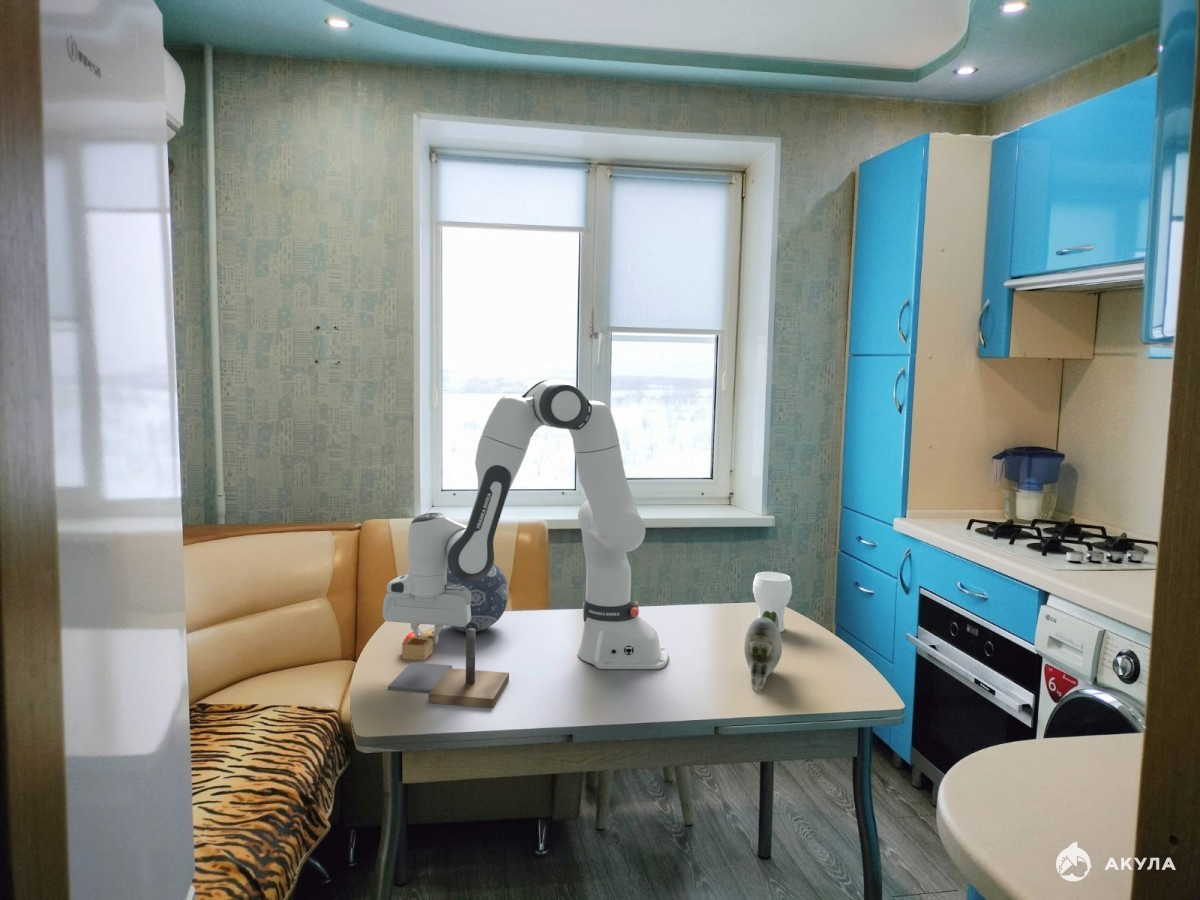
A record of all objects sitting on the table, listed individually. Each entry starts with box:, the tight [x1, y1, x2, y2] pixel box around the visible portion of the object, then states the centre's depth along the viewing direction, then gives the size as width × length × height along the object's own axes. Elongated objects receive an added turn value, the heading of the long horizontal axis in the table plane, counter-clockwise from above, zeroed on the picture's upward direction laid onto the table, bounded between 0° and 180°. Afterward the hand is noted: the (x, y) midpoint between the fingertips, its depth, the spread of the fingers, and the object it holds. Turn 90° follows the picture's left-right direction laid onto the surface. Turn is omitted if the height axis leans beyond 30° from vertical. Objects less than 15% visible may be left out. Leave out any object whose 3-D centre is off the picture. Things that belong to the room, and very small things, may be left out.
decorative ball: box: [447, 563, 510, 633], centre depth 206 cm, size 20×20×20 cm
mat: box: [387, 661, 453, 693], centre depth 175 cm, size 10×14×1 cm
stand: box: [428, 628, 510, 709], centre depth 168 cm, size 14×14×14 cm
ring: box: [401, 628, 436, 661], centre depth 175 cm, size 5×11×3 cm, turn 173°
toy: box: [743, 611, 783, 692], centre depth 182 cm, size 8×15×20 cm
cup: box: [752, 571, 793, 633], centre depth 215 cm, size 11×11×15 cm
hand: (426, 641), depth 178 cm, fingers closed on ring, 2 cm apart
